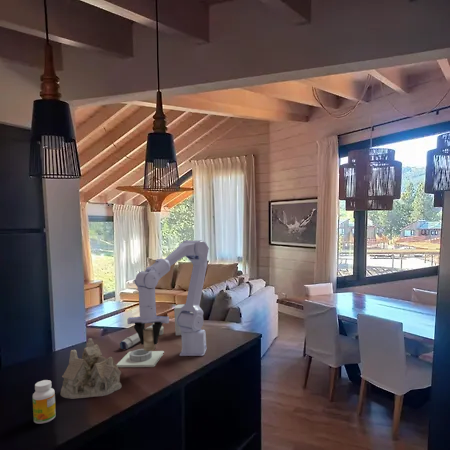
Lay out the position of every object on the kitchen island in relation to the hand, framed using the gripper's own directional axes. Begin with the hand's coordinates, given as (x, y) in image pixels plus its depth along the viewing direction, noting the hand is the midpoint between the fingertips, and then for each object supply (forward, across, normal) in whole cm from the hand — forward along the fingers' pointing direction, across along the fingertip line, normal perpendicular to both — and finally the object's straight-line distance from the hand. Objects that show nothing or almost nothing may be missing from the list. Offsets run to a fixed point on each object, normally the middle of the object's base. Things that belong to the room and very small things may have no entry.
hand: (149, 343), depth 132 cm
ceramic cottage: (+9, -14, -16) cm, 23 cm away
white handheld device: (+9, -12, +31) cm, 35 cm away
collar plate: (+9, -6, +8) cm, 14 cm away
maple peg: (+2, 0, 0) cm, 2 cm away
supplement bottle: (+9, -19, -33) cm, 40 cm away
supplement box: (+9, +4, +42) cm, 43 cm away
